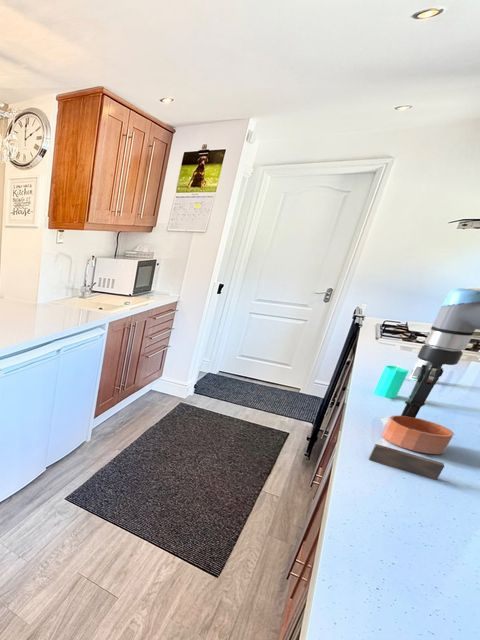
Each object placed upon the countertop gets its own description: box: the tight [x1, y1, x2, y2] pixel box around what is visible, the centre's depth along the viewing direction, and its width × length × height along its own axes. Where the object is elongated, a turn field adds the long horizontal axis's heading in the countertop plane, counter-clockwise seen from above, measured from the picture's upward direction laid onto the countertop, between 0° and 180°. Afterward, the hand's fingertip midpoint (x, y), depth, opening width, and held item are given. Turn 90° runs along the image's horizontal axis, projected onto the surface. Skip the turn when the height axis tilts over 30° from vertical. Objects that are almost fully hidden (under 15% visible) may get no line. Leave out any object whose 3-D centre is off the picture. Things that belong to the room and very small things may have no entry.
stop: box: [368, 443, 445, 481], centre depth 99 cm, size 12×2×4 cm, turn 45°
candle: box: [373, 364, 409, 399], centre depth 145 cm, size 6×6×12 cm
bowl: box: [381, 414, 455, 455], centre depth 111 cm, size 12×12×6 cm
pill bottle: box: [408, 358, 428, 382], centre depth 163 cm, size 5×5×8 cm
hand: (403, 424), depth 117 cm, fingers closed
